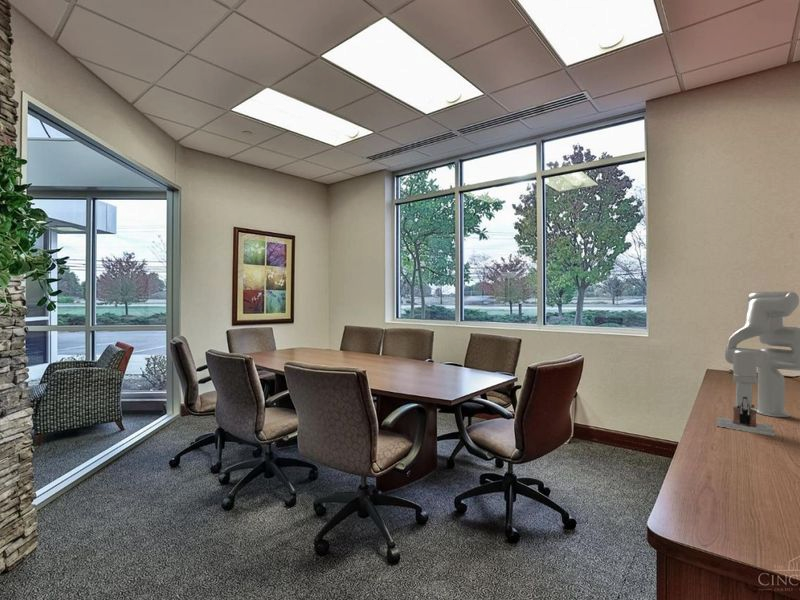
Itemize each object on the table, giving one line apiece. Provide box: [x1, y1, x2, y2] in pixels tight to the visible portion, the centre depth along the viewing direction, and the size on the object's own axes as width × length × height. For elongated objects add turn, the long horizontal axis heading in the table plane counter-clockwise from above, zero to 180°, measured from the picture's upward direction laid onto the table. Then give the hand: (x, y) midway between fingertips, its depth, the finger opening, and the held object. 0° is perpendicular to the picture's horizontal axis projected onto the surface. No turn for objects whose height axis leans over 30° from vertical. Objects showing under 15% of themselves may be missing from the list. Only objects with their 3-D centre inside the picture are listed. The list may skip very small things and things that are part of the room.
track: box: [716, 416, 776, 437], centre depth 168 cm, size 12×18×2 cm, turn 51°
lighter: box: [732, 404, 758, 427], centre depth 168 cm, size 8×3×10 cm, turn 25°
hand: (744, 422), depth 168 cm, fingers closed on lighter, 4 cm apart
